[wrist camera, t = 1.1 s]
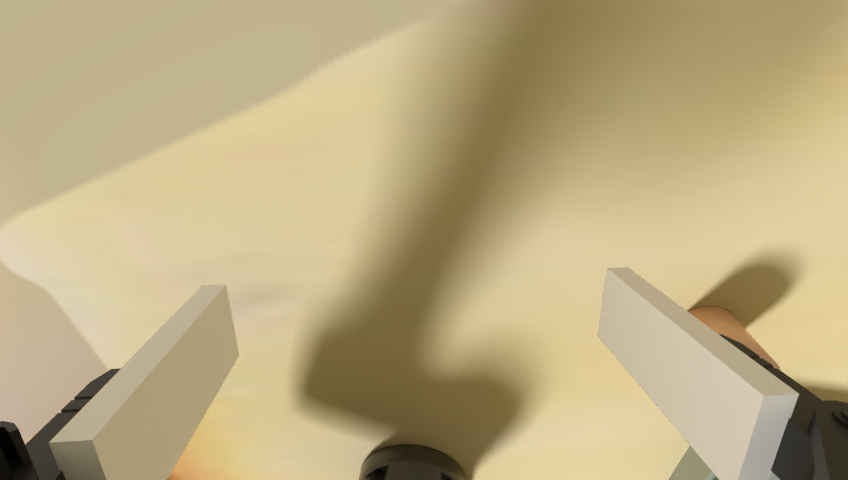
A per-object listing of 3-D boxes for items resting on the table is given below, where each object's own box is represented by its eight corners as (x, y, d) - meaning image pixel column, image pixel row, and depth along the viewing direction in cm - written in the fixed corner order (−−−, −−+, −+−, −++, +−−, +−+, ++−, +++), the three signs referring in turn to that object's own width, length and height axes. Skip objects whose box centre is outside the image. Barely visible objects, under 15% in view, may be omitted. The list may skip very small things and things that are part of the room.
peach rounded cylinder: (719, 357, 46) (760, 410, 39) (660, 349, 46) (691, 401, 40) (746, 310, 42) (795, 360, 36) (683, 302, 43) (720, 350, 36)
